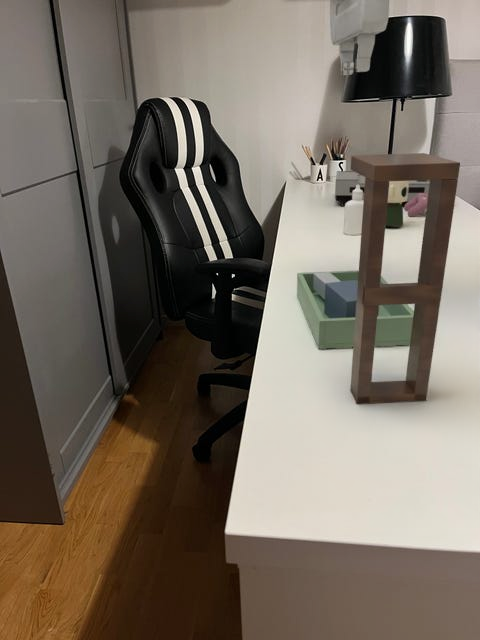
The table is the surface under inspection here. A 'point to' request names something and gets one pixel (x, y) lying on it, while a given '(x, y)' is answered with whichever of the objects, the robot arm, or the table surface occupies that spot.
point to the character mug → (396, 202)
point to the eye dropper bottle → (354, 213)
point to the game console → (350, 179)
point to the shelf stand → (419, 293)
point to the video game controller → (417, 204)
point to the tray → (340, 331)
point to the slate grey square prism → (336, 295)
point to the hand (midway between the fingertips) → (354, 73)
